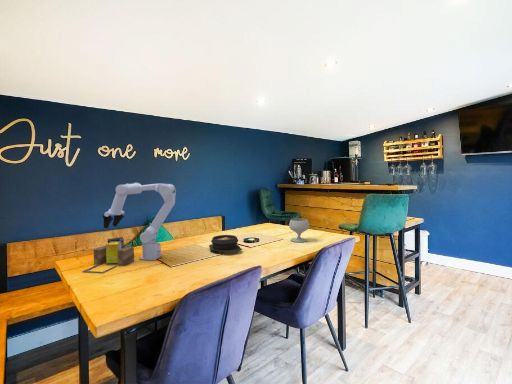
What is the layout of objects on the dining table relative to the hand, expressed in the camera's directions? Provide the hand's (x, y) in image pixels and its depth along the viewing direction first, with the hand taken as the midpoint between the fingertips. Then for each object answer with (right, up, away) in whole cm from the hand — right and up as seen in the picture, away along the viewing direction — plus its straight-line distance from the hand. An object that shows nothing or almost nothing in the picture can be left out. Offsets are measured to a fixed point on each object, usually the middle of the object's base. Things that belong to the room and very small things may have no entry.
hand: (109, 226), depth 161 cm
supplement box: (+7, -19, -9) cm, 22 cm away
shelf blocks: (+7, -18, -9) cm, 21 cm away
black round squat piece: (+64, -17, +15) cm, 68 cm away
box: (+2, -18, +3) cm, 18 cm away
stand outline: (+5, -19, -19) cm, 27 cm away
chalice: (+113, -15, +40) cm, 121 cm away
